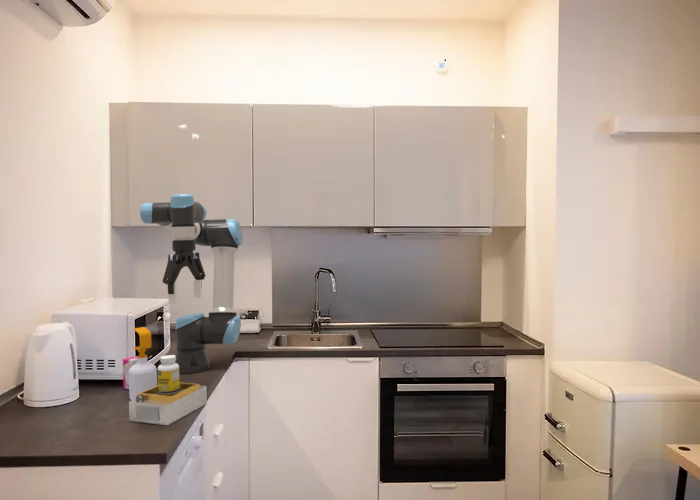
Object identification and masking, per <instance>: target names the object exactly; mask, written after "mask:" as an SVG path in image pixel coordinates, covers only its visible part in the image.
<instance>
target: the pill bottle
mask: <svg viewBox="0 0 700 500" xmlns="http://www.w3.org/2000/svg"><path fill="white" fill-rule="evenodd" d="M159 358H160V361H159V362H160V363H161V364H159V365H158V367H157V385H158V391H159V394H161V395H172V394H175V393H177V392H179V390H180V382H181V381H180V373H179V365H178V364H177V363H175V361H176V354H169V355H168V354H167V355H162V356H160V357H159Z"/></svg>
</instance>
